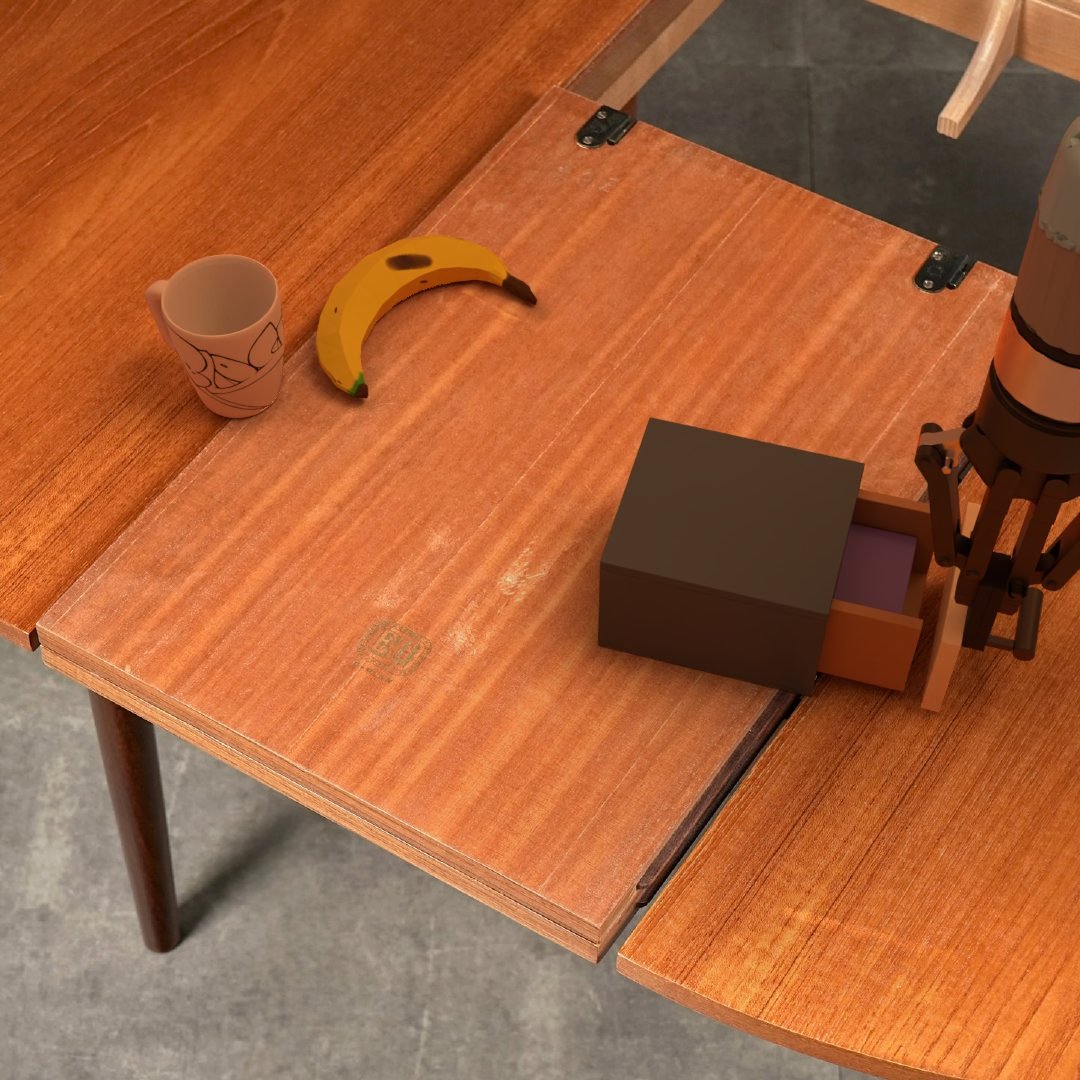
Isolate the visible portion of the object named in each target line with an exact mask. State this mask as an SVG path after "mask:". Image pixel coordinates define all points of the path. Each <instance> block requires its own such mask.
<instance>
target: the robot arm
mask: <svg viewBox="0 0 1080 1080" xmlns="http://www.w3.org/2000/svg"><path fill="white" fill-rule="evenodd" d="M1037 201H1038V203H1037V207H1036V211H1035V214H1034V218H1033V222H1032V225H1031V229H1030V232H1029V236H1028V240H1027V243H1026V246H1025V250H1024V252H1023V257H1022V261H1021V264H1020V268H1019V271H1018V275H1017V278H1016V281H1015V285H1014V288H1013V292H1012V296H1011V297H1010V301H1009V303H1008V305H1007V310H1006V313H1005V316H1004V319H1003V322H1002V326H1001V328H1000V333H999V335H998V338H997V342H996V345H995V349H994V352H993V353H994V354H993V357H992V359H991V361H990V364H989V368H988V371H987V374H986V378H985V381H984V384H983V387H982V391H981V394H980V398H979V401H978V405H977V407H976V408H975V409H974V410H973V411H972V412H971V413H969V414H968V415H966V416H965V418H964V419H963V421H962V423H961V427H957V428H951V429H947V430H944V429H943V427H942V426H941V425H940V424H938V423H936V422H926V423H923V424H922V425H921V427H920V432H919V436H918V440H917V444H916V450H915V454H914V459H913V461H914V465H915V466H916V467H917V469H918V471H919V472H920V474H921V475H922V477H923V478H924V480H925V482H926V484H927V494H928V504H929V505H930V516H931V526H932V536H933V547H934V553H933V556H934V563H935V564H936V565H938V566H939V567H941V568H947V569H948V567H952V566H956V567H958V568H959V569H960V574H959V577H958V580H957V585H956V590H955V596H954V599H955V602H956V603H957V604H961V605H965V606H968V611H967V616H966V622H965V627H964V633H963V638H962V644H961V648H966V649H970V650H975V651H979V652H984V651H985V648H986V647H987V646H986V643H987V640H988V638H989V635H991V632H992V630H993V627H994V624H995V621H996V619H997V616H998V614H1002V615H1006V616H1011V617H1012V616H1014V615H1015V614H1016V613H1018V612H1019V607H1020V603H1021V601H1022V600H1024V599H1026V597H1027V593H1028V587H1032V586H1033V585H1034V586H1035V585H1041V587H1042V588H1043V589H1044V590H1046V591H1049V592H1057V591H1060V590H1062V589H1063V587H1065V585H1066V584H1067V583H1068V582H1070V580H1071V579H1072V578H1073V577H1074V576H1075V575H1076V573H1078V571H1079V570H1080V511H1079V512H1078V513H1077V514H1076V515H1075V516H1074V518H1073V519H1072V520H1071V521H1070V522H1069V523H1068V524H1067V526H1066V527H1065V528H1064V529H1063V530H1062V531H1061V533H1059V534H1058V536H1057V537H1056V538H1055V539H1054V541H1052V543H1051V544H1050V545H1049V546H1048V547H1047V548H1046V549H1045V548H1044V547H1045V545H1046V543H1047V540H1048V537H1049V535H1050V532H1051V529H1052V527H1053V526H1054V525H1055V523H1056V520H1057V518H1058V515H1059V512H1060V510H1061V507H1062V505H1063V504H1065V503H1069V502H1070V501H1073V500H1075V499H1078V498H1079V497H1080V114H1079V115H1078V116H1077V117H1076V118H1075V119H1074V120H1073V122H1071V124H1070V125H1069V127H1068V128H1067V130H1066V131H1065V133H1064V134H1063V136H1062V139H1061V141H1060V144H1059V145H1058V148H1057V150H1056V153H1055V156H1054V157H1053V161H1052V163H1051V166H1050V169H1049V171H1048V174H1047V176H1046V178H1045V179H1044V182H1043V183H1042V184H1041V187H1040V189H1039V191H1038V198H1037ZM961 454H964V455H965V457H966V458H967V460H968V461H969V463H970V464H971V466H972V467H973V469H974V471H975V472H976V474H977V475H978V476H979V478H980V480H981V481H982V482H983V484H984V485H985V486H986V489H985V491H984V494H983V498H982V501H981V507H980V510H979V513H978V516H977V519H976V522H975V525H974V528H973V531H971V534H970V538H968V537H966V536H964V535H962V534H961V531H962V530H961V523H962V518H961V508H960V507H961V506H960V493H959V481H958V479H959V478H958V470H957V469H958V468H957V467H958V465H960V460H961ZM1014 499H1016V500H1020V499H1021V500H1025V501H1028V502H1029V505H1028V508H1027V510H1026V513H1025V516H1024V517H1023V520H1022V521H1023V522H1022V524H1021V527H1020V530H1019V532H1018V535H1017V538H1016V541H1015V543H1014V547H1013V549H1012V554H1007V553H1003V552H998V551H994V550H995V547H996V544H997V541H998V538H999V535H1000V533H1001V530H1002V527H1003V525H1004V521H1005V518H1006V516H1007V515H1008V513H1009V510H1010V508H1011V505H1012V502H1013V500H1014ZM1044 549H1045V550H1046V551H1045V552H1043V550H1044Z"/></svg>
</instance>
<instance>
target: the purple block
mask: <svg viewBox="0 0 1080 1080" xmlns="http://www.w3.org/2000/svg"><path fill="white" fill-rule="evenodd" d="M916 544H917V537H912V536H908V535H903V534H898V533H894V532H889V531H885V530H880V529H875V528H871V527H866V526H861V525H857V524H852V523H851V525H850V529H849V534H848V538H847V542H846V546H845V550H844V554H843V559H842V563H841V567H840V571H839V575H838V579H837V584H836V588H835V592H834V596H833V599H836V600H840V601H845V602H849V603H853V604H858V605H862V606H866V607H871V608H875V609H879V610H884V611H888V612H892V613H897V614H901V615H902V614H903V609H904V604H905V599H906V594H907V589H908V584H909V579H910V574H911V569H912V564H913V559H914V554H915V549H916Z"/></svg>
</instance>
